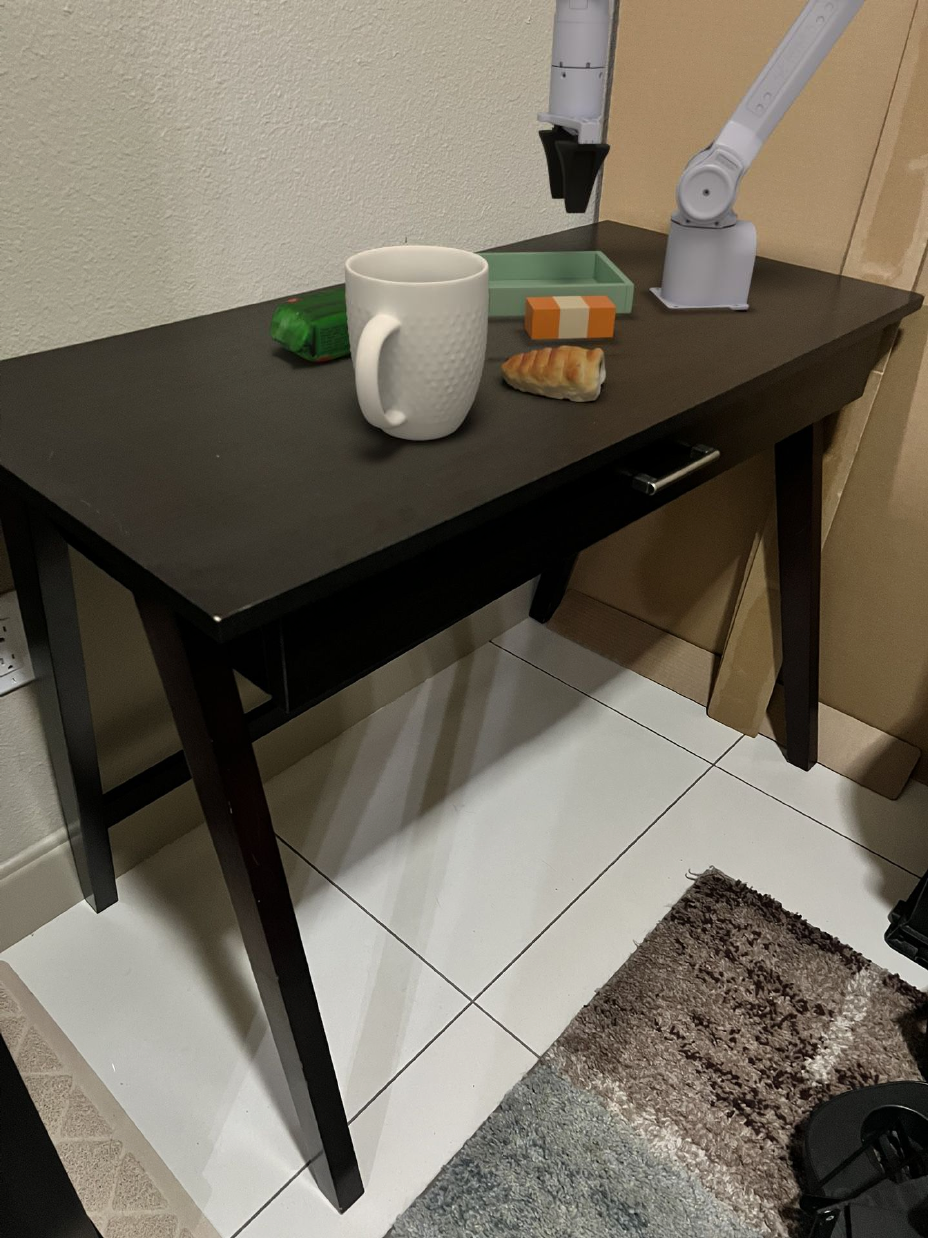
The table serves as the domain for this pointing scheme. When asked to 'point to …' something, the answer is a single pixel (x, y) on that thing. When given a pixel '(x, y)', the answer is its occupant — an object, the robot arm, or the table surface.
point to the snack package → (313, 325)
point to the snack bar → (569, 317)
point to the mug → (417, 336)
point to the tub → (553, 279)
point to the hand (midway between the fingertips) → (567, 205)
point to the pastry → (558, 372)
